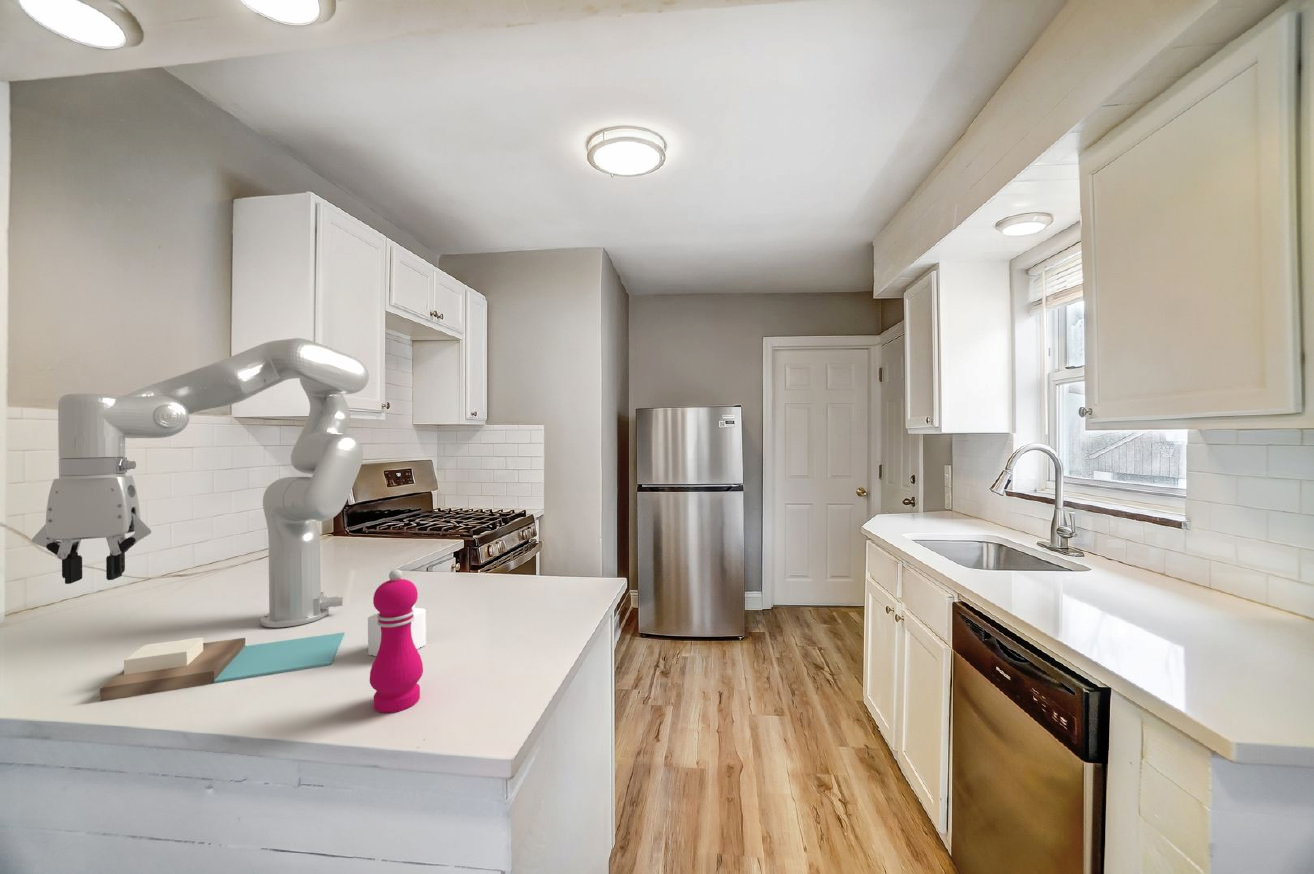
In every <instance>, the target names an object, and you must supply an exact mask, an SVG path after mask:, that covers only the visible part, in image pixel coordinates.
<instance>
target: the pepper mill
mask: <svg viewBox="0 0 1314 874" xmlns="http://www.w3.org/2000/svg"><path fill="white" fill-rule="evenodd" d="M402 577H403V572H402V570H400V569H393V570H391V571H390V572H389V574H388V578H389V580H387V581H384V582H382V583H381V584H379V586H378V587H377V588H376V589H375V592H374V593H373V606H374V609H376V610H377V612H378V613H380V614H378V616H377V618H378V622H377V624H378V625H379V626H381V643H380V647H379V651H378V653H377V656H375V658H374V661H373V663H372V664H371V668H370V672H369V684H370V686H371V687H372V689H374V690H375V693H374V695H373V709H374V710H375V711H376V712H379V713H384V714H385V713H386V714H387V713H396V712H401V711H403V710H407V709H409V708H411V707H414V705H416V704H417V703H418V702H419V700H420V699H421V689H420V688H421V687H420V684H418V682H419V681H420V679H421V678H422V676H423V673H424V666H423V661H422V657H421V655H420V653H419V651H418V650H417V649H416V647H415V645H414V643H413V639H412V635H411V622H412V621H413V620H414V610H413V609H412V607H413V606H414V604H415V605H416V603H417V602H418V599H419V598H418V597H419V596H418V595H419V593H418V589H417V587H416V585H415V584H414V582H412V581H411V580H409V579H405V578H402Z"/></svg>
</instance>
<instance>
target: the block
mask: <svg viewBox="0 0 1314 874" xmlns="http://www.w3.org/2000/svg"><path fill="white" fill-rule="evenodd" d="M203 643H204V637H195V638H187V639H181V640H172V641H165V642H158V643H157V642H156V643H151V644H150V643H148V644H144V645H143V646H141V647H140V648H139V649H137V650H136V651H135V652H133V653H132V654H130V655H129V656H127V657H126V658H125V659H123V670H124V675H127V674H134V673H141V672H148V671H155V670H161V669H168V668H175V667H182V666H187V665H188V664H189V663H190V662H192V661H193V660H194V659H195V658H196V657H197V656H198V655H199V654H200V653H201V652H202V651H203Z"/></svg>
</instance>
